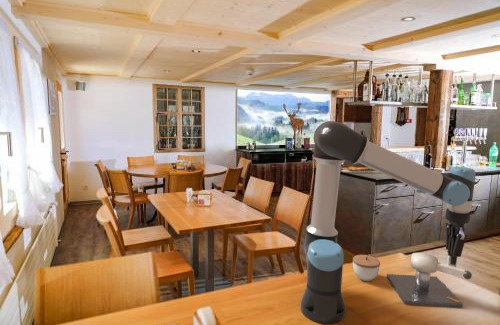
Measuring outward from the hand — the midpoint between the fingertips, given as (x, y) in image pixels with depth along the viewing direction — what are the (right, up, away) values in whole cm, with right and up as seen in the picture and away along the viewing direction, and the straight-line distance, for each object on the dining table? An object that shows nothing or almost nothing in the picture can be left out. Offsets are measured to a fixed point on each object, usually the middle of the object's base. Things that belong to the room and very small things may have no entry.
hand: (450, 271), depth 125 cm
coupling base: (-8, -9, +5) cm, 14 cm away
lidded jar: (-26, -8, +16) cm, 32 cm away
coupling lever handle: (-4, 0, 0) cm, 4 cm away
